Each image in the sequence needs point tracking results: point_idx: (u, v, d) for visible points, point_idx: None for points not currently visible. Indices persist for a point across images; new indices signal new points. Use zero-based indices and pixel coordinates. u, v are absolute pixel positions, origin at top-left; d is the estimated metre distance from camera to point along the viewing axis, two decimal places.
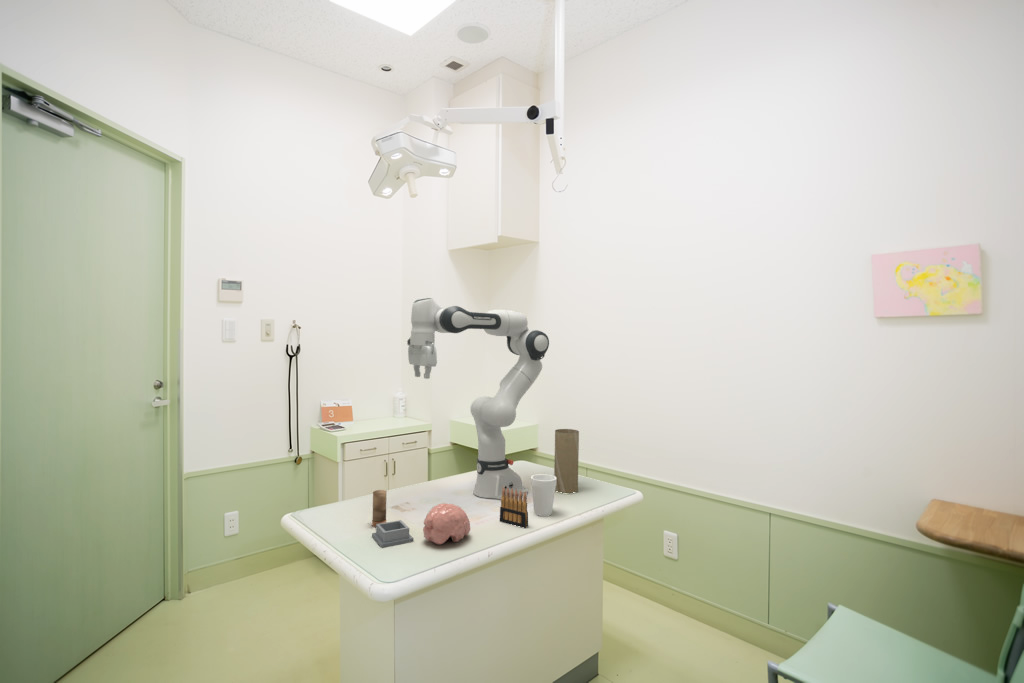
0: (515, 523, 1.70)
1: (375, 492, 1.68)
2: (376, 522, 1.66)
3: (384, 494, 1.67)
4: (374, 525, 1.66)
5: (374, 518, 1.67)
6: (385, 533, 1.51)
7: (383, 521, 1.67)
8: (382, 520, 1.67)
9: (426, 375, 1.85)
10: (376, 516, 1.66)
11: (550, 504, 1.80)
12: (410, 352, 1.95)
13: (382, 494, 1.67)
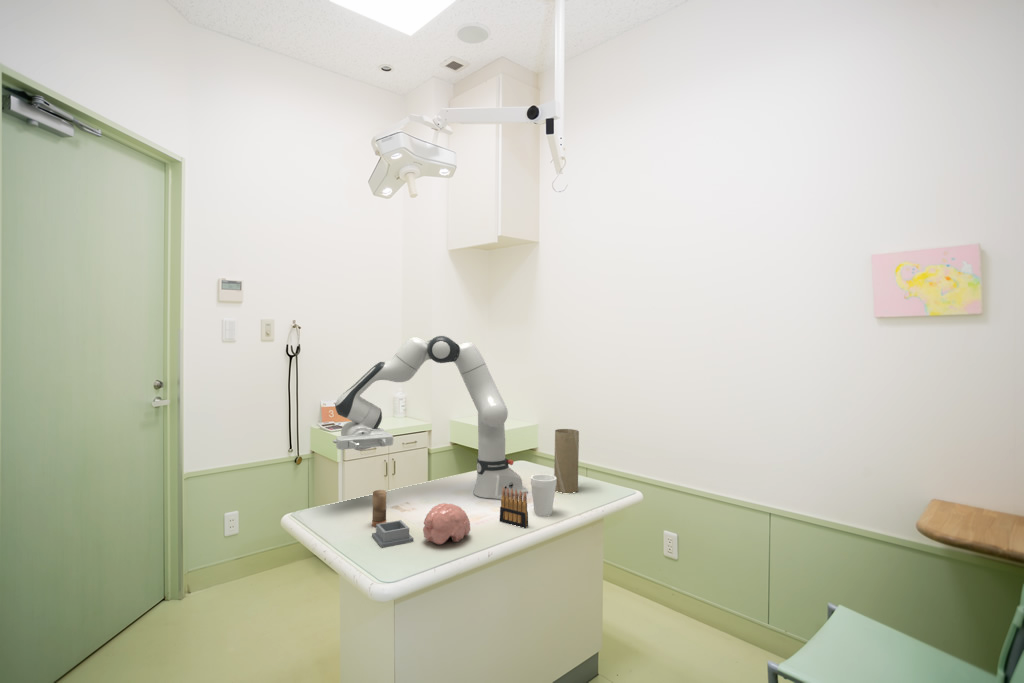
0: (515, 523, 1.70)
1: (375, 492, 1.68)
2: (376, 522, 1.66)
3: (384, 495, 1.67)
4: (374, 525, 1.66)
5: (374, 518, 1.67)
6: (385, 533, 1.51)
7: (383, 521, 1.67)
8: (382, 520, 1.67)
9: (354, 447, 1.77)
10: (376, 516, 1.66)
11: (550, 504, 1.80)
12: None
13: (382, 494, 1.67)
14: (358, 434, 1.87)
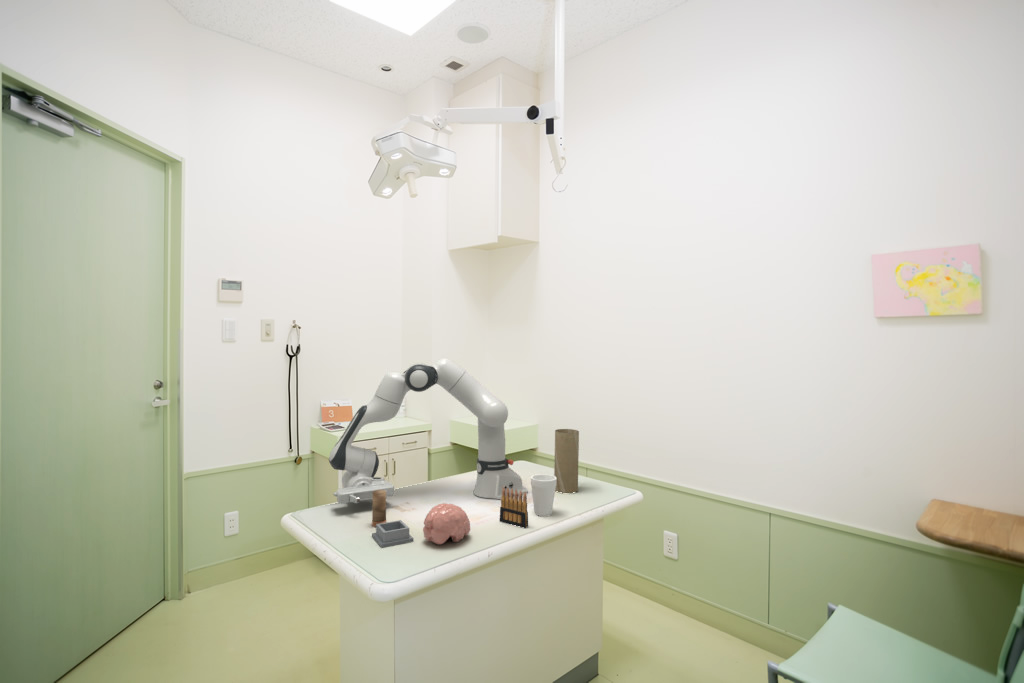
0: (515, 523, 1.70)
1: (375, 492, 1.68)
2: (376, 522, 1.66)
3: (383, 494, 1.67)
4: (374, 525, 1.66)
5: (374, 518, 1.67)
6: (385, 533, 1.51)
7: (383, 521, 1.67)
8: (382, 520, 1.67)
9: (354, 501, 1.75)
10: (376, 516, 1.66)
11: (550, 504, 1.80)
12: None
13: (382, 494, 1.67)
14: (359, 485, 1.85)
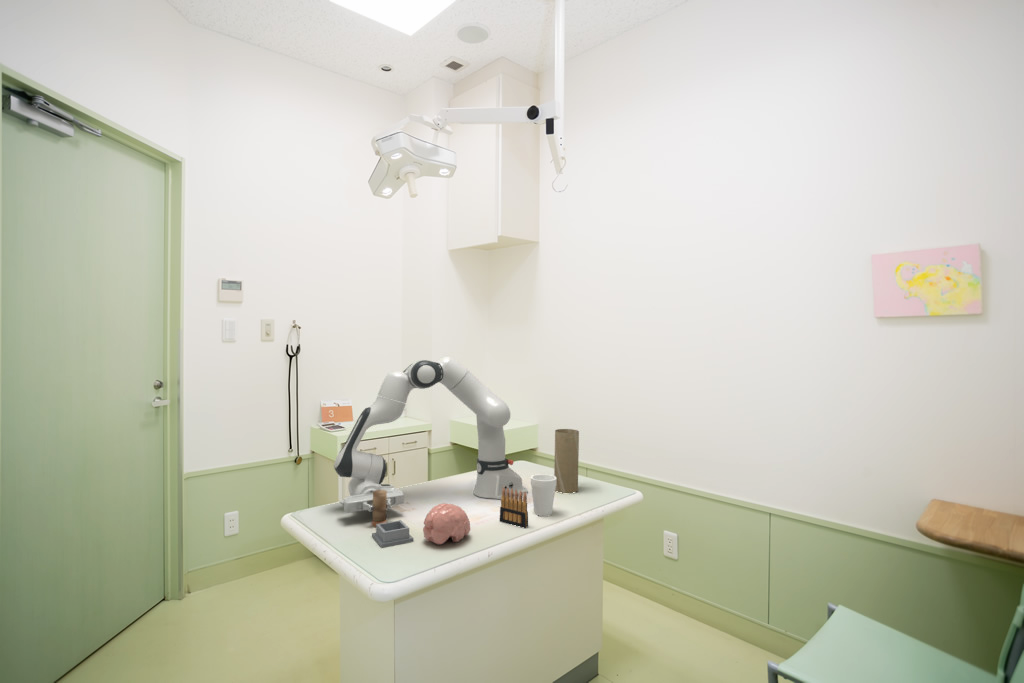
0: (515, 523, 1.70)
1: (375, 492, 1.68)
2: (376, 522, 1.66)
3: (384, 494, 1.67)
4: (374, 525, 1.66)
5: (374, 518, 1.66)
6: (385, 533, 1.51)
7: (383, 521, 1.67)
8: (382, 520, 1.67)
9: (368, 509, 1.67)
10: (376, 516, 1.66)
11: (550, 504, 1.80)
12: None
13: (382, 494, 1.67)
14: (367, 493, 1.76)
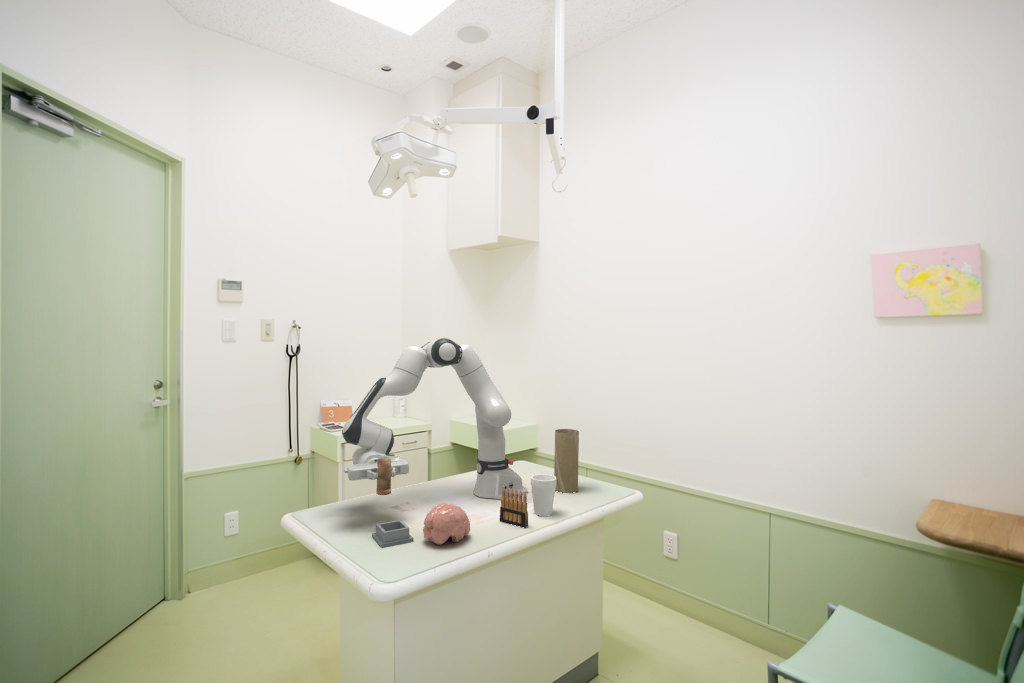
0: (515, 523, 1.70)
1: (380, 460, 1.63)
2: (381, 490, 1.62)
3: (388, 462, 1.63)
4: (379, 493, 1.62)
5: (379, 486, 1.62)
6: (385, 533, 1.51)
7: (388, 489, 1.63)
8: (387, 488, 1.63)
9: (372, 477, 1.63)
10: (380, 484, 1.62)
11: (550, 504, 1.80)
12: None
13: (387, 461, 1.62)
14: (371, 462, 1.72)
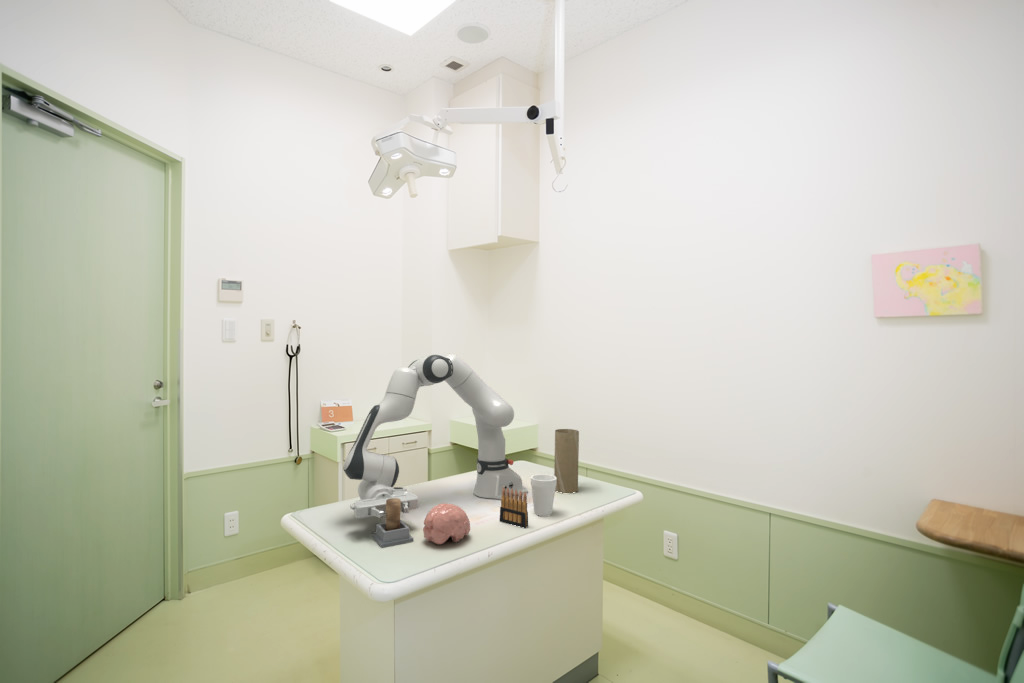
0: (515, 523, 1.70)
1: (388, 501, 1.55)
2: None
3: (398, 504, 1.55)
4: None
5: (387, 529, 1.54)
6: (385, 533, 1.51)
7: None
8: None
9: (377, 515, 1.54)
10: (389, 526, 1.54)
11: (550, 504, 1.80)
12: None
13: (396, 503, 1.55)
14: (378, 497, 1.64)
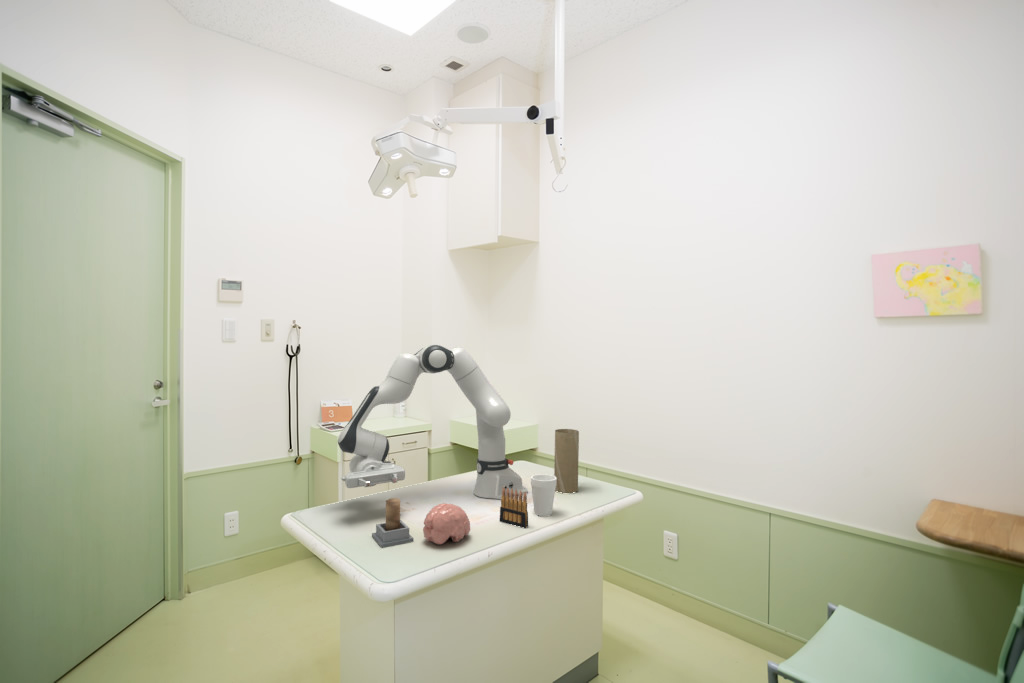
0: (515, 523, 1.70)
1: (388, 501, 1.56)
2: None
3: (398, 503, 1.55)
4: None
5: (387, 529, 1.55)
6: (385, 533, 1.51)
7: None
8: None
9: (364, 485, 1.66)
10: (389, 526, 1.54)
11: (550, 504, 1.80)
12: None
13: (396, 503, 1.55)
14: (368, 469, 1.76)
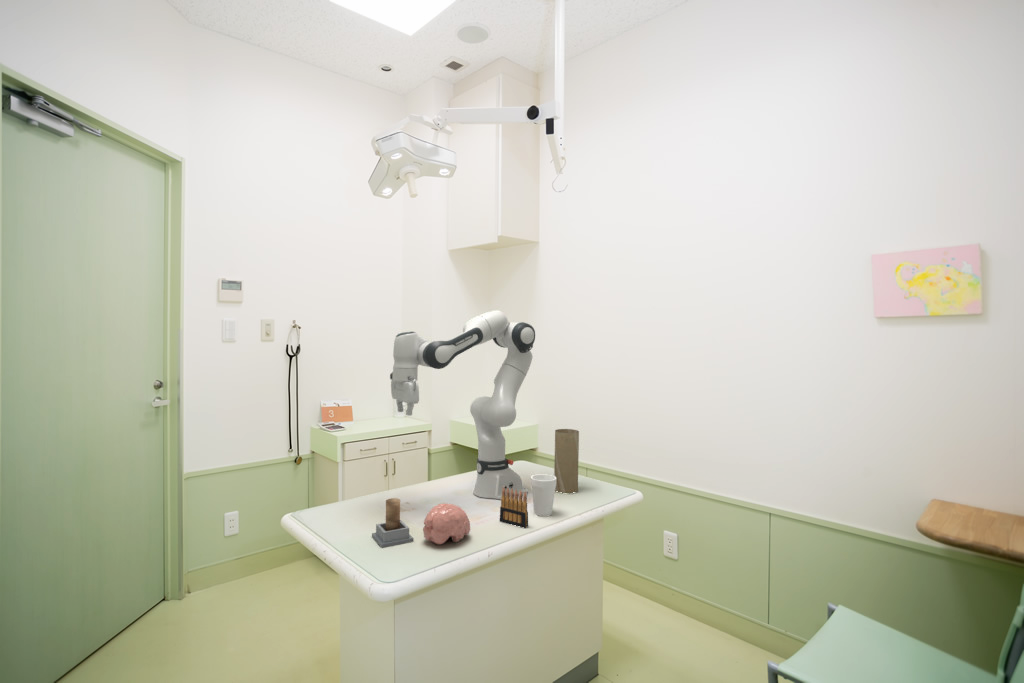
0: (515, 523, 1.70)
1: (388, 501, 1.56)
2: None
3: (398, 503, 1.55)
4: None
5: (387, 529, 1.55)
6: (385, 533, 1.51)
7: None
8: None
9: (408, 412, 1.79)
10: (389, 526, 1.54)
11: (550, 504, 1.80)
12: (393, 386, 1.90)
13: (396, 503, 1.55)
14: None
